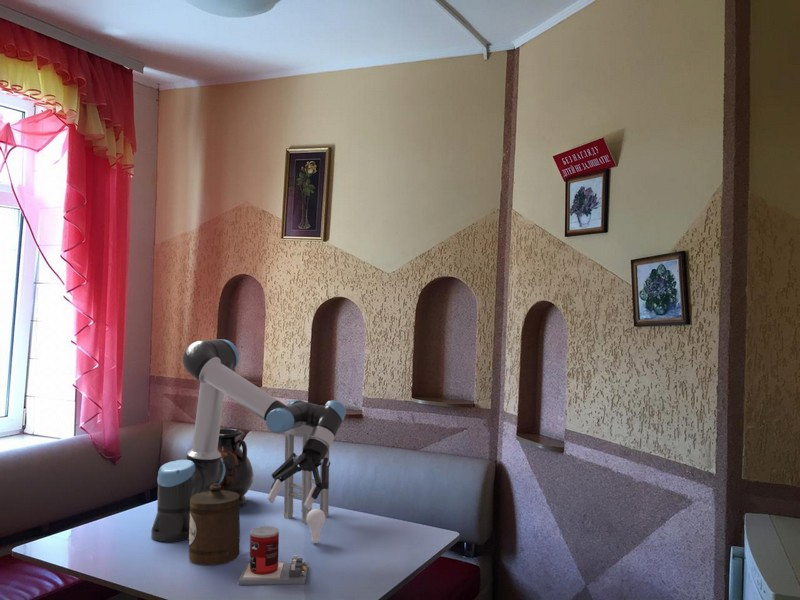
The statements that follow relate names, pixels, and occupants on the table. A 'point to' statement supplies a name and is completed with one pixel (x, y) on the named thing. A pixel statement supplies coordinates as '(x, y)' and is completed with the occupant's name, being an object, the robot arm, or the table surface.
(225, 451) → the amphora vase
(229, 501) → the wooden container
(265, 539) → the canned food
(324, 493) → the stool
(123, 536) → the table surface
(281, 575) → the breaker board
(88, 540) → the table surface
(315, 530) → the lightbulb
